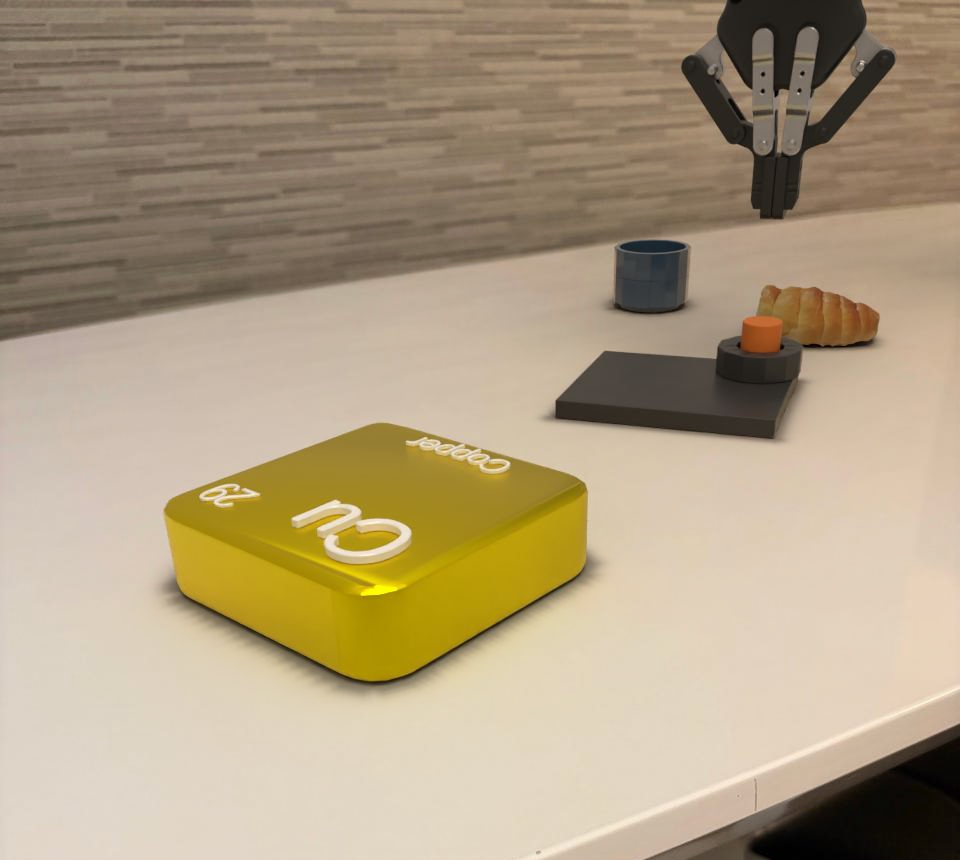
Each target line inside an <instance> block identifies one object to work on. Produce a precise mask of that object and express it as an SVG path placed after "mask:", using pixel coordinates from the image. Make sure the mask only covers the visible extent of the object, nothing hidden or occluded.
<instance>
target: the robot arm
mask: <svg viewBox="0 0 960 860" xmlns="http://www.w3.org/2000/svg"><path fill="white" fill-rule="evenodd" d="M863 4H864V3H863V0H726V3H725V6H724V9H723V11H722V13H720V16H719V18H718V21H717V23H716V34H715V35H714V36H713V37H712V38H710V40H708V41H707V42H706V43H705V44H704V45H703V46H702V47H701V48H699V49H698V50H697V51H696V52H695V53H692V54H689V55H687V56H686V57H684V59H682V62H681V65H680V69H681V73H682V74H683V76H684V77H685V79H686V80H687V82H688V84H689V85H690V87H691V88H692V90H693V91H694V93H695V94H696V96H697V97H698V99H699V101H700V102H701V104H702V105H703V107H704V108H705V110H706V111H707V113H708V115H709V116H710V117H711V119H712V120H713V122H714V124H715V125H716V126H717V128H718V130H719V131H720V133H721V134H722V136H723V137H724V139H725V140H726V142H727V143H728V144H729V145H738V146H740V147H743V148H746V149H748V150H749V151H750V152H751V154H752V156H753V164H752V165H753V166H752V167H753V168H752V177H751V179H752V180H751V190H750V191H751V192H750V204H751V206H752V209H753V210H759V219H760V220H781V221H783V220H784V219H785V218H786V216H787V212H788V211H792V210H794V208H795V207H796V205H797V203H798V201H799V198H800V192H801V191H800V190H801V180H802V171H803V162H804V156H805V153H806V151H808V150H810V149H813V148H814V147H818V146H820V145H825V144H827V143H829V142H830V141H831V140H832V139H833V137H834V136H836V134H837V133H838V132H839V130H841V128H842V127H843V126H844V125H845V124H846V122H847V121H848V120H849V119H850V118H851V117H852V115H853V114H854V113H855V112H856V110H858V108H859V107H860V106H861V105H862V104H863V103H864V101H865V100H866V99H867V98H868V97H869V96H870V94H871V93H872V92H873V91H874V90H875V88H876V87H877V86H878V85H879V84H880V83H881V81H883V79H884V78H885V77H886V76H887V75H888V73H889V72H890V71H891V70H892V69H893V67H894V66H895V64H896V62H897V60H898V59H897V58H898V55H897V52H896V50H895V49H894V48H892V47H887V46H884V44H883V43H881V41H879V40H878V39H877V38H876V37H875V36H874V35H873V34H871V32H870V31H868V30H867V29H866V26H867V23H868V22H867V19H868V18H867V11H866V10H865V8H864V5H863ZM853 48H854V49H855V56H854V58H853V60H852V62H851V64H850V73H851V75H852V76H853V77H854V78H855V79H854V80H853V81H852V82H851V84H849V86H848V87H847V88H846V89H845V91H844V92H842V94H841V95H840V96H839V98H838V99H837V100H836V101H835V102H834V103H833V104H832V106H831V107H830V108H829V110H828V111H827V112H826V113H825V114H824V115H823V117H822V118H821V119H820V120H819V121H816V122H813V123H811V124H810V119H811V113H812V109H813V104H814V99H815V94H816V89H818V88H820V87H821V86H823V84H825V83H826V82H827V80H829V78H830V77H831V76H832V74H834V72H835V71H836V69H838V67H839V66H840V64H841V63H842V61H843V60H844V59H845V58H846V56H847V55H848V54H849V52H850V51H851V50H852V49H853ZM724 53H726V55H727V56H728V58H729V60H730V62H731V64H732V65H733V67H734V69H735V70H736V72H737V73H738V75H739V77H740V79H741V81H742V82H743V83H744V85H745V86H746V87H747V88H748V89H750V90H751V92H752V96H751V97H752V99H751V100H752V101H751V103H752V106H751V108H752V118H753V119H752V122H751V121H749V120H748V119H747V118H746V116H745V114H744V113H743V112H742V110H741V109H740V106H739V105H738V104H737V102H736V100H735V98H733V96H732V95H731V93H730V91H729V90H728V88H727V87H726V85H725V84H724V82H723V80H722V78H723V77H724V75H725V73H726V63H725V61H724ZM781 90H785V91H788V94H787V101H786V108H785V119H784V125H783V130H782V132H783V133H782V137H781V142H780V149H781V152H778V145H779V124H780V123H779V116H780V107H781Z"/></svg>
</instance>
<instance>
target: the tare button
mask: <svg viewBox="0 0 960 860" xmlns="http://www.w3.org/2000/svg"><path fill="white" fill-rule="evenodd" d="M782 326H783V321H782V320H781V319H778V318H775V317H769V316H756V315H755V316H749V317H746V318H744V319H743V321H742V327H741V335H740V336H741V347H740V349H741V350H745V351H749V352H761V353H766V352H777V351H780V344H781V335H782Z"/></svg>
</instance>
